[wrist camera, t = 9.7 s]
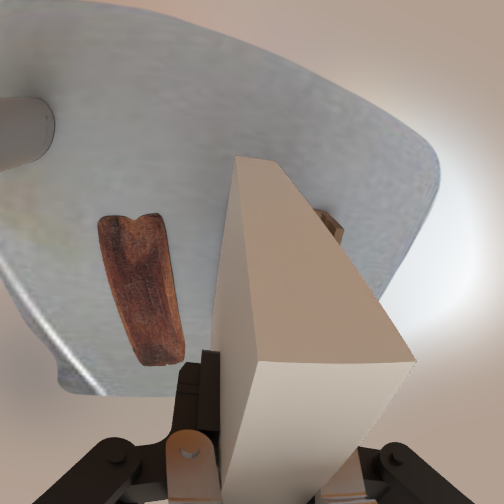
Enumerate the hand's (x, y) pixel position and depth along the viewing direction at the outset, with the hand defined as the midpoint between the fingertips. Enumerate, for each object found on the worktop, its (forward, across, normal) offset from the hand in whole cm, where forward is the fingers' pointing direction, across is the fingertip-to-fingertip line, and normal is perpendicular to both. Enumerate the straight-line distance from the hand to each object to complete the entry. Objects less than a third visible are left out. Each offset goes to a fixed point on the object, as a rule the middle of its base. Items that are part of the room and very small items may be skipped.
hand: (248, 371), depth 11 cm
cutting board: (+10, 0, 0) cm, 10 cm away
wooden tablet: (+32, +11, +18) cm, 38 cm away
